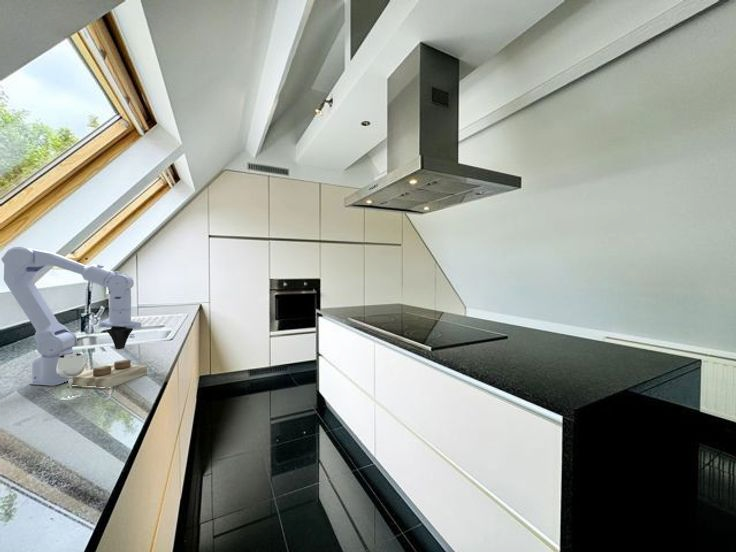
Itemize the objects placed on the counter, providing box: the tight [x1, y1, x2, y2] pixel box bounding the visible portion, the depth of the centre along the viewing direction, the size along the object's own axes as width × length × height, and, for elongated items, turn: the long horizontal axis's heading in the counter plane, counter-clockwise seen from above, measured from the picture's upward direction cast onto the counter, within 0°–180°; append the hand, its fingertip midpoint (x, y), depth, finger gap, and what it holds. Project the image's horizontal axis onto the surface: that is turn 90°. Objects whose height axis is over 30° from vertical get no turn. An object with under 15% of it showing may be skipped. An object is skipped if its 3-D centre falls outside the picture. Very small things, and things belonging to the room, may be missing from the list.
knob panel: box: [72, 363, 148, 389], centre depth 101 cm, size 14×14×3 cm
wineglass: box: [56, 352, 86, 398], centre depth 87 cm, size 6×6×12 cm
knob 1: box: [92, 364, 111, 376], centre depth 97 cm, size 4×4×5 cm
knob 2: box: [113, 359, 132, 369], centre depth 104 cm, size 4×4×5 cm
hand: (120, 348), depth 105 cm, fingers closed
